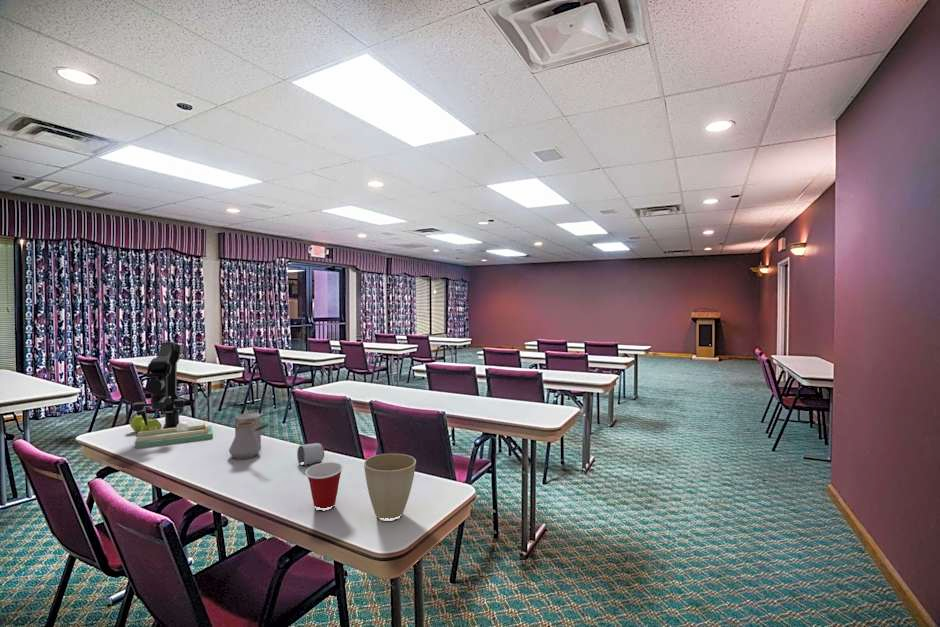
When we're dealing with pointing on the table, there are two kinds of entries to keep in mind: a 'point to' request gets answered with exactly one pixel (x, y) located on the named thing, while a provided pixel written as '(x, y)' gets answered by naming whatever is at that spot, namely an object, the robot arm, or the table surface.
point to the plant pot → (389, 483)
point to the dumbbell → (140, 425)
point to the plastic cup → (324, 483)
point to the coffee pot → (245, 441)
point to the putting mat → (173, 436)
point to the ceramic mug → (310, 453)
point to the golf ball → (182, 427)
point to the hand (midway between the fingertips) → (159, 424)
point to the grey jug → (249, 418)
